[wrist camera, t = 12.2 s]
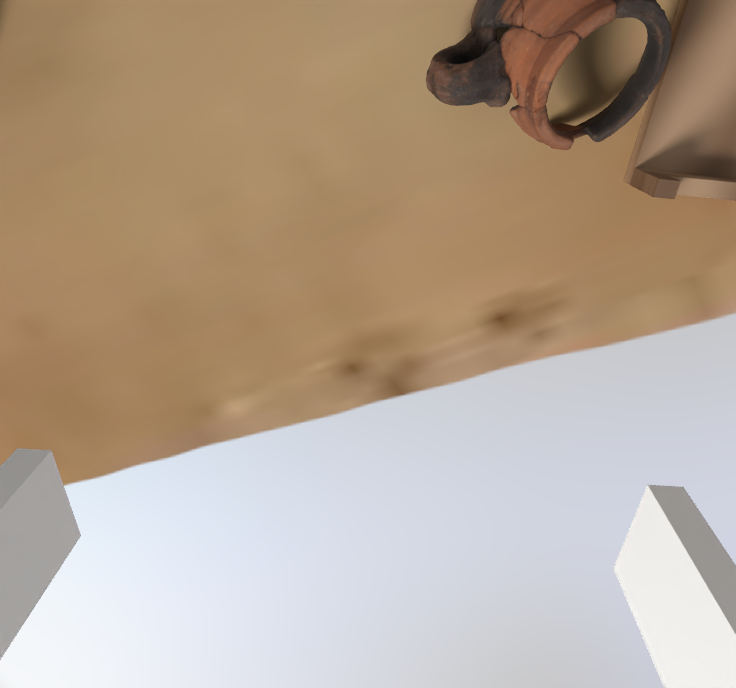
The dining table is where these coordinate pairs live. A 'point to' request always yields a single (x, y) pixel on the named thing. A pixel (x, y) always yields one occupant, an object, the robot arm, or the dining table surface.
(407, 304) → the dining table surface
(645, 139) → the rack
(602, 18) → the pottery mug
